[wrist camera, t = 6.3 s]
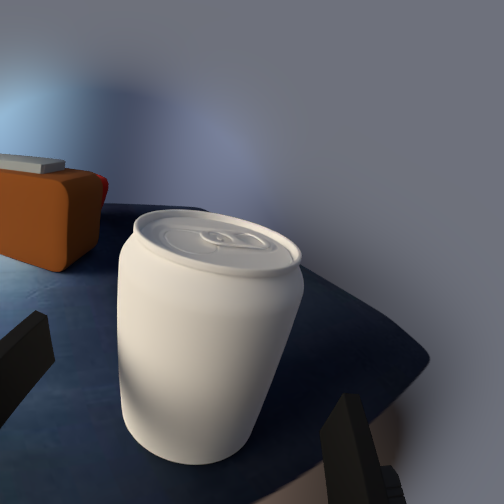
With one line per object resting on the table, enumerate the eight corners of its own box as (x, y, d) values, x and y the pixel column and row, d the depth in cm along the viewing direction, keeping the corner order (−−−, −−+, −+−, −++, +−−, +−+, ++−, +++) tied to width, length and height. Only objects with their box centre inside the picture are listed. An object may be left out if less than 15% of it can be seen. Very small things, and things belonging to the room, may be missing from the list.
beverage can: (112, 378, 17) (115, 201, 14) (218, 367, 22) (254, 213, 18) (143, 481, 11) (138, 278, 7) (273, 448, 15) (353, 273, 11)
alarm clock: (99, 251, 35) (107, 163, 32) (67, 277, 27) (72, 169, 24) (-15, 221, 33) (-13, 151, 29) (-49, 236, 25) (-50, 157, 22)
